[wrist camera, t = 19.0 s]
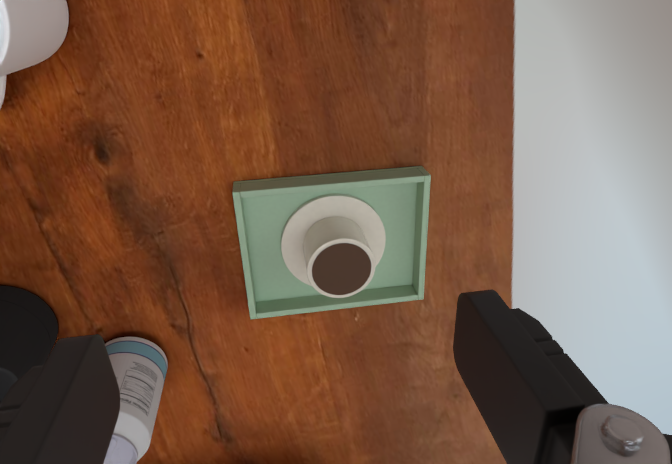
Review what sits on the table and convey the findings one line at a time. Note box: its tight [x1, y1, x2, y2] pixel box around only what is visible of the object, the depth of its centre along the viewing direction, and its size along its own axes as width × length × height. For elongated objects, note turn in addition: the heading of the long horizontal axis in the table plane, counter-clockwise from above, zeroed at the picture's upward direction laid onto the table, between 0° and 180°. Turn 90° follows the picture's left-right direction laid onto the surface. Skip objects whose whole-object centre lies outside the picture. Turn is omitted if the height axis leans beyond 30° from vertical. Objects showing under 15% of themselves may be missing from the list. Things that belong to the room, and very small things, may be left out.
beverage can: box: [103, 337, 168, 464], centre depth 44 cm, size 7×7×12 cm
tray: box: [232, 166, 431, 319], centre depth 45 cm, size 17×13×3 cm
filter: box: [281, 194, 386, 298], centre depth 44 cm, size 10×10×5 cm
